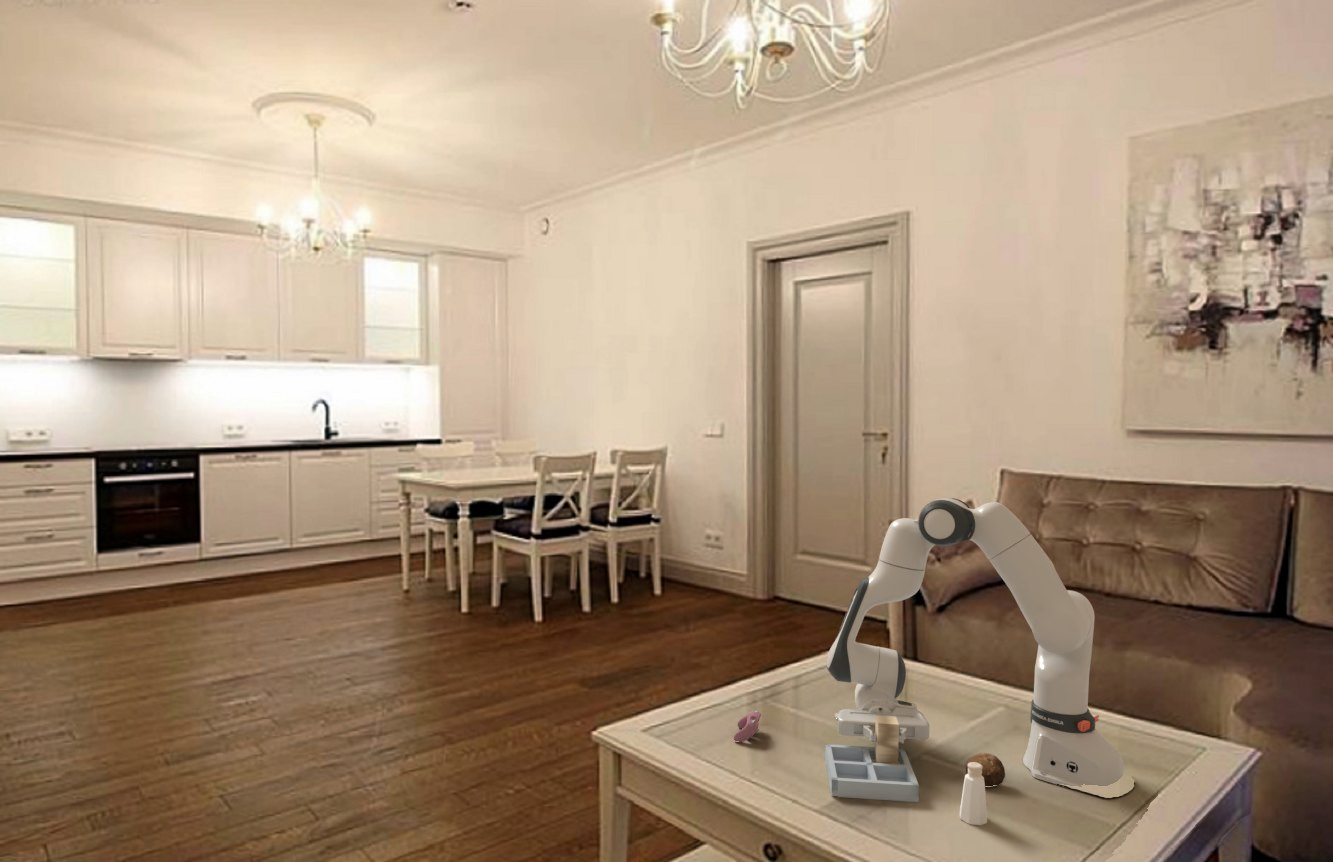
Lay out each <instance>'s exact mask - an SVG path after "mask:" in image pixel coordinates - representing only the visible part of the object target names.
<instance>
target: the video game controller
mask: <svg viewBox="0 0 1333 862" xmlns="http://www.w3.org/2000/svg"><path fill="white" fill-rule="evenodd" d="M761 716H762V713H761V712H759V711H758V710H754V709H752V710H751V711H749V712H748V714H746V715H745V716H743V717H741V718H740V719H739V720H738V721H737V727H738V728H739V727H740V728H739V729H740V730H739V731H737V732H736V733H735V734H734V735H733V740H735V741H739V743H744V742H746V741H747V740H748V741H749V739H750V740H751V738H752V737H753V736H754V735H755V734H757V735H758V733H759V732H760V728H759V725H760V724H759V721H760V718H761ZM741 728H743V729H741ZM735 741H734V742H735Z"/></svg>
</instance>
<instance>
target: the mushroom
mask: <svg viewBox="0 0 1333 862" xmlns="http://www.w3.org/2000/svg"><path fill="white" fill-rule="evenodd" d="M970 762H976V763H979V764H981V765H982V766H983V768H982V776H983V777H984V782H985V786H993V785H998V786H1000V785H1001V784H1002V783H1003V782H1004V780H1005V778H1006V772H1005V771H1006V770H1005V766H1004V764H1003V763H1002V761H1001V759H999V758H998V756H996V755H995V754H992V753H986V752H980V753H977V754H973V755H972V756H971V757H969V758H968V759H967V761H966V763H965V764H964V768H965V773H966V774H968V763H970ZM999 784H1000V785H999Z"/></svg>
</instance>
